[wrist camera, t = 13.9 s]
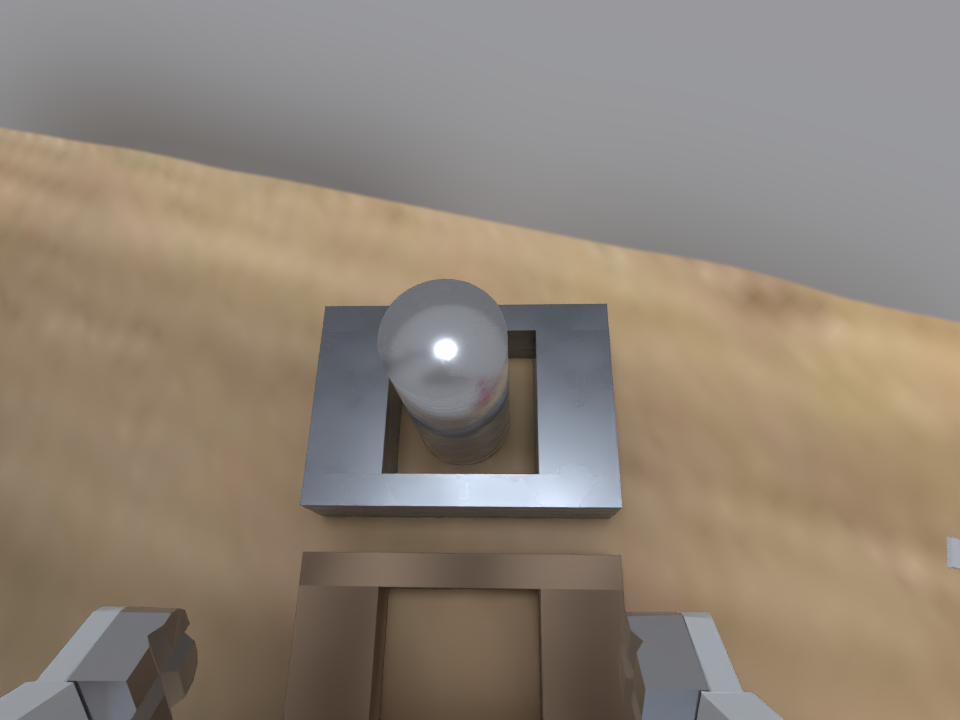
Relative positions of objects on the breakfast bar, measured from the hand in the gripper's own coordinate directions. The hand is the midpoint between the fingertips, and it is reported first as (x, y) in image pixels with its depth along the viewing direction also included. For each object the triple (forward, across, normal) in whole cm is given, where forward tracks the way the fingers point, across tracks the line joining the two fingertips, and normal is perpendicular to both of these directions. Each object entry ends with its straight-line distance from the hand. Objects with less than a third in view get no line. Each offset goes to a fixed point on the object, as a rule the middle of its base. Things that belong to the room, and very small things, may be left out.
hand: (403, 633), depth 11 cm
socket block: (+15, 0, +4) cm, 16 cm away
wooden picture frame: (+8, 0, +11) cm, 14 cm away
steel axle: (+15, 0, +4) cm, 16 cm away
